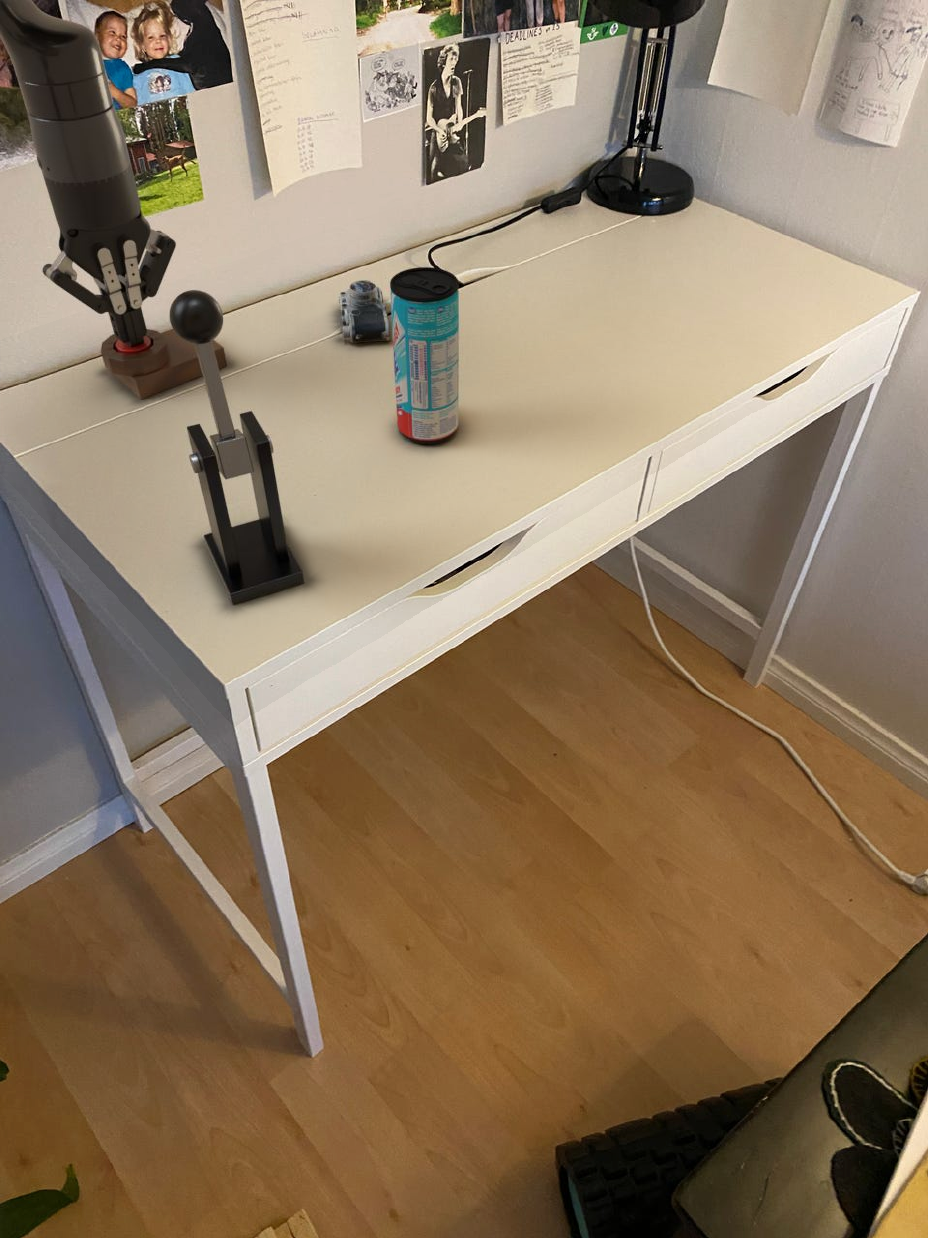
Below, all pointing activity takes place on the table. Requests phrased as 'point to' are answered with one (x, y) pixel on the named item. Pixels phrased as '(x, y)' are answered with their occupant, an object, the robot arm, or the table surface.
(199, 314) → the lever
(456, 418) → the beverage can
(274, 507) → the bracket
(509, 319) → the table surface
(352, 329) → the camera
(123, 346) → the button
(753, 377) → the table surface
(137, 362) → the button block
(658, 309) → the table surface
